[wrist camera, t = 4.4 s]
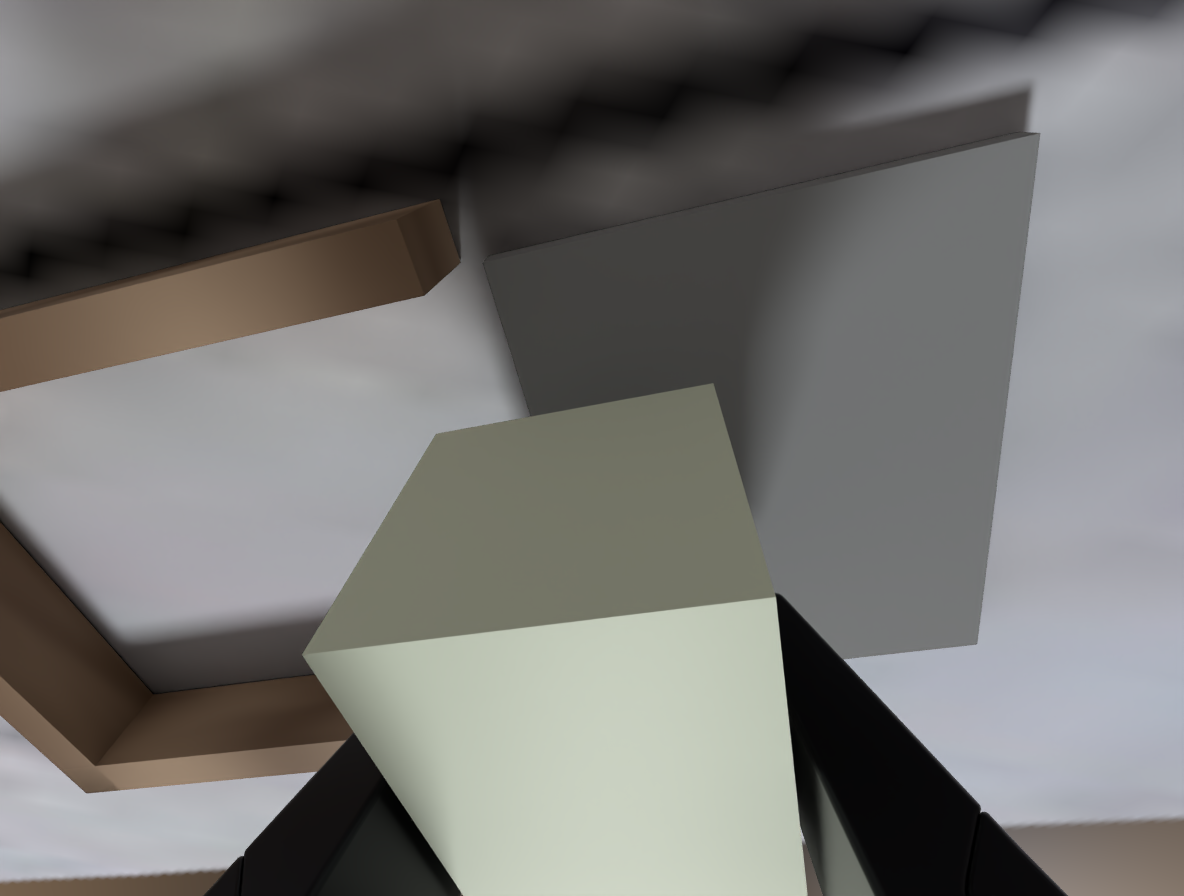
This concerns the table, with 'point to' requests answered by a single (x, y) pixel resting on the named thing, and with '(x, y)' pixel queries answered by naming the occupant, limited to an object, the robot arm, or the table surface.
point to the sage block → (577, 659)
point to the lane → (49, 619)
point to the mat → (818, 368)
